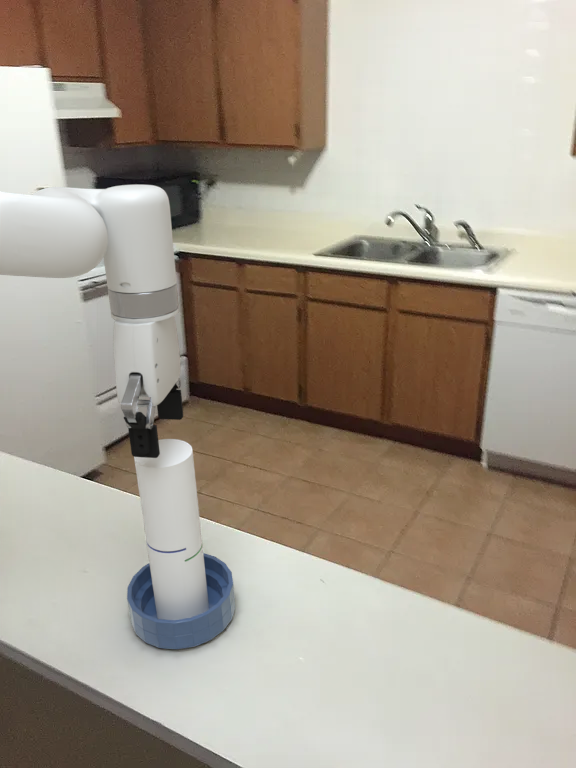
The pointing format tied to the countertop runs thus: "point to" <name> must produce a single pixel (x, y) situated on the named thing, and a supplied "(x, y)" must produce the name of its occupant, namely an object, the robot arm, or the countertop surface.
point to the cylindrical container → (173, 530)
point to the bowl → (187, 629)
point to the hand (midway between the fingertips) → (159, 436)
